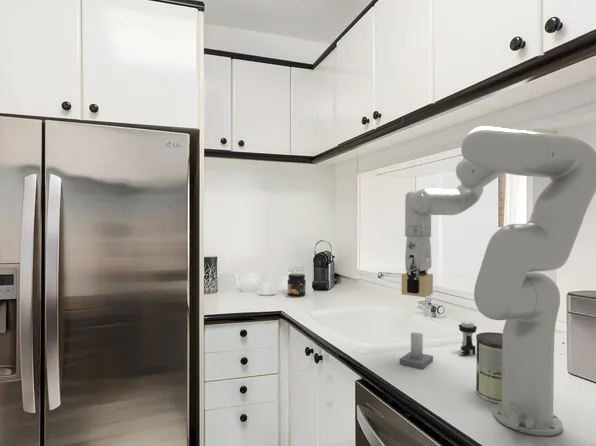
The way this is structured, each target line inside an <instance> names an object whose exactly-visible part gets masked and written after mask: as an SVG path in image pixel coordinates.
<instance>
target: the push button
mask: <svg viewBox="0 0 596 446" xmlns="http://www.w3.org/2000/svg"><path fill="white" fill-rule="evenodd" d="M458 328H459V331H460V332H461V333H462V342H461V343H462V345H461V346H460V349H459V350H458V352H459V353H458V355H460V356H465V357H467V356H473V355H476V345H474V344H473V334H474V333H476V332H477V329H478V327H477V326H476V325H475V323H474V322H471V321H461V323H460V324H459V325H458Z"/></svg>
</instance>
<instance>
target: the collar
mask: <svg viewBox="0 0 596 446" xmlns="http://www.w3.org/2000/svg"><path fill="white" fill-rule="evenodd" d="M427 273H428V272H427ZM427 273H418V277H417V280H418V293H417V294H414V293H408V292H407V274H406V272H405V273H401V295H405V296H410V297H411V296H412V297H421V298H426V297H429V296H432V295H433V293H434V291H433V290H434V289H433V287H434V285H433V284H434V274H433V273H428V274H427ZM414 275H415V272H414Z"/></svg>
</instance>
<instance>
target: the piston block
mask: <svg viewBox="0 0 596 446" xmlns="http://www.w3.org/2000/svg"><path fill="white" fill-rule="evenodd" d="M423 337H424V335H423V333H420V332H411V333H410V351H409V352H408V353H406V354H405V355H403V356H402V357H400V358H399V365H402V366H407V367H410V368H414V369H419V370H424V369H425V368H427V367H428V366H429V365H431V364H432V363H433V362H434V356H433V355H431V354H426V353H423V349H424V347H423V345H424V344H423V343H424V342H423V341H424V338H423Z"/></svg>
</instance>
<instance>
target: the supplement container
mask: <svg viewBox="0 0 596 446" xmlns="http://www.w3.org/2000/svg"><path fill="white" fill-rule="evenodd" d="M287 277H288V279H287V281H286V282H287V295H288V296H289V297H292V298H293V297H294V298H296V297H297V298H302V297H304V296H306V293H307V292H306V284H307V283H306V279H305V278H306V275H305V273H289V274H288V275H287Z"/></svg>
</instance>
